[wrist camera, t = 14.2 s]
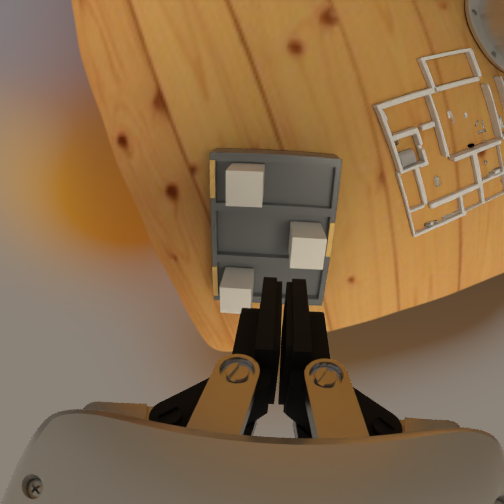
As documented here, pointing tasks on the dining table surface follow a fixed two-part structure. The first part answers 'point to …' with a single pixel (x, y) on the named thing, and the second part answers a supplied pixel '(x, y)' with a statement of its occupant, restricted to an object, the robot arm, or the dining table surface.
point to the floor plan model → (443, 142)
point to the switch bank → (273, 216)
